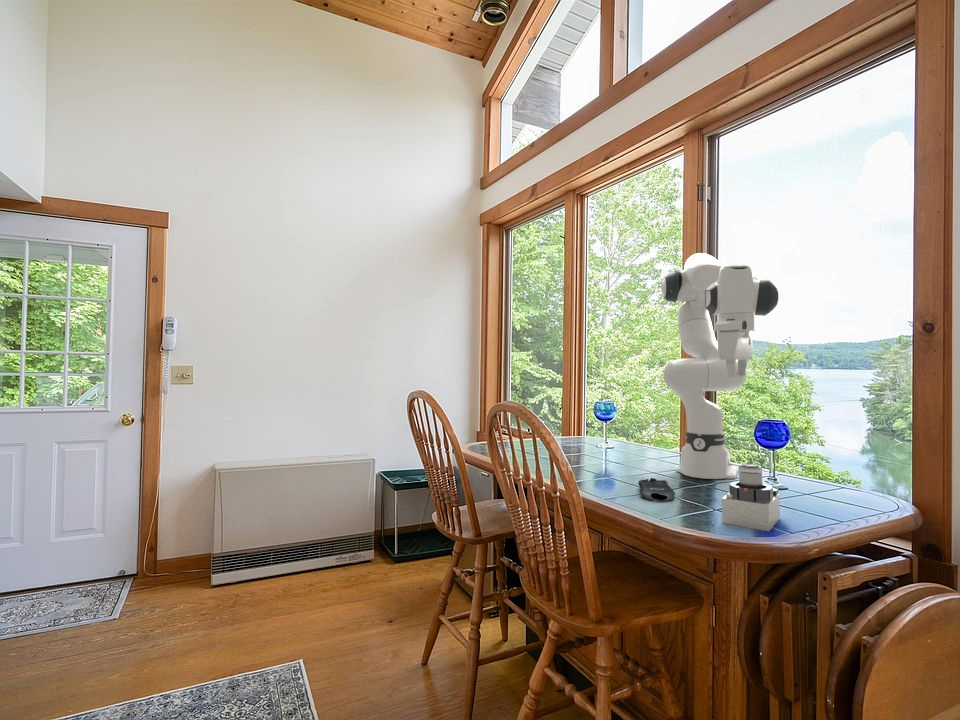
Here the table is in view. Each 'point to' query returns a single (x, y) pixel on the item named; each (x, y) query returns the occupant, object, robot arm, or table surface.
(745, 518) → the camera body
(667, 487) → the electronic device
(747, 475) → the lens
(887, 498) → the table surface
